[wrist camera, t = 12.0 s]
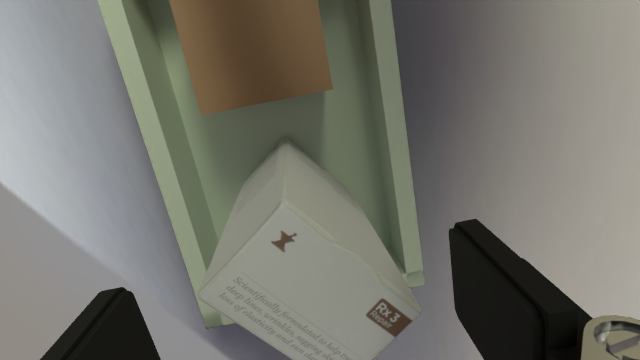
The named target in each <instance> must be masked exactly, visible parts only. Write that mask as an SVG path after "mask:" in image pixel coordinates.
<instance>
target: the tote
mask: <svg viewBox="0 0 640 360" xmlns="http://www.w3.org/2000/svg"><path fill="white" fill-rule="evenodd" d="M98 3H99V6H100V9H101V12H102V15H103V18H104V21H105V24H106V27H107V30H108V33H109V36H110V39H111V43H112V46H113V49H114V52H115V55H116V58H117V61H118V64H119V67H120V70H121V73H122V76H123V79H124V82H125V85H126V88H127V91H128V94H129V97H130V100H131V103H132V106H133V109H134V112H135V115H136V118H137V121H138V124H139V127H140V130H141V133H142V136H143V139H144V142H145V145H146V148H147V151H148V154H149V157H150V160H151V163H152V166H153V169H154V172H155V175H156V178H157V181H158V184H159V187H160V190H161V193H162V196H163V199H164V202H165V205H166V208H167V211H168V214H169V217H170V220H171V223H172V226H173V229H174V232H175V235H176V238H177V241H178V244H179V247H180V250H181V253H182V256H183V259H184V262H185V265H186V268H187V271H188V274H189V277H190V280H191V283H192V286H193V289H194V292H195V295H196V298H197V301H198V305H199V308H200V311H201V314H202V317H203V320H204V323H205V326H206V329H209V328H214V327H219V326H224V325H228V324H233V323H236V322H234V321H233V320H231V319H230V318H228V317H226V316H225V315H223V314H222V313H220V312H219V311H217V310H215V309H214V308H212V307H211V306H209V305H208V304H206V303H205V302H203V301H202V300H200V299H199V298H198V292H199V289H200V286H201V284H202V281H203V279H204V277H205V274H206V272H207V270H208V268H209V266H210V264H211V261H212V258H213V255H214V253H215V250H216V248H217V245H218V243H219V240H220V238H221V236H222V233H223V231H224V229H225V226H226V224H227V221H228V219H229V216H230V214H231V211H232V209H233V207H234V204H235V202H236V200H237V197H238V195H239V193H240V190H241V187H242V185H243V182H244V181H245V180H246V179H247V178H248V176H249V175H250V174H251V173H252V172H253V171H254V169H255V168H256V167H257V166H258V165H259V164H260V163H261V161H262V160H263V159H264V158H265V157H266V156H267V155H268V154H269V152H270V151H271V150H272V149H273V148H274V147H275V146H276V145H277V144H278V142H279V141H280V140H281V139H282V138H283V137H287V138H289V139H290V140H291V141H292V142H293V143H294V144H296V145H297V146H298V147H299V148H300V149H301V150H302V151H304V152H305V153H306V154H307V155H308V156H309V157H310V158H312V159H313V160H314V161H315V162H316V163H317V164H319V165H320V166H321V167H322V168H323V169H324V170H325V171H327V172H328V173H329V174H330V175H331V176H332V177H333V178H335V179H336V180H337V181H338V182H339V183H340V184H341V185H342V186H344V187H345V188H346V189H347V190H348V191H349V192H351V193H352V194H353V195H354V197H355V199H356V200H357V202H358V203H359V205H360V207H361V208H362V210H363V212H364V213H365V215H366V217H367V219H368V220H369V222H370V223H371V225H372V227H373V228H374V230H375V232H376V233H377V235H378V237H379V238H380V240H381V242H382V243H383V245H384V246H385V248H386V250H387V251H388V253H389V255H390V256H391V258H392V260H393V261H394V263H395V265H396V266H397V268H398V270H399V271H400V273H401V275H402V276H403V278H404V280H405V281H406V283H407V285H408V287H409V288H412V287H417V286H421V285H425V280H424V271H423V263H422V255H421V247H420V238H419V230H418V222H417V214H416V205H415V197H414V189H413V180H412V172H411V164H410V156H409V147H408V139H407V131H406V122H405V114H404V106H403V98H402V89H401V81H400V73H399V64H398V56H397V48H396V40H395V31H394V23H393V15H392V6H391V0H318V6H319V11H320V17H321V23H322V29H323V34H324V40H325V46H326V52H327V58H328V63H329V69H330V75H331V81H332V86H333V89H332V90H327V91H322V92H317V93H312V94H307V95H302V96H297V97H292V98H287V99H282V100H277V101H271V102H266V103H261V104H256V105H251V106H246V107H241V108H236V109H231V110H226V111H221V112H216V113H211V114H206V115H201V113H200V109H199V106H198V102H197V98H196V95H195V91H194V88H193V84H192V81H191V77H190V74H189V70H188V66H187V63H186V59H185V56H184V52H183V49H182V45H181V41H180V38H179V34H178V31H177V27H176V24H175V20H174V17H173V13H172V9H171V6H170V2H169V0H98Z"/></svg>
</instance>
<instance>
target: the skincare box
mask: <svg viewBox="0 0 640 360" xmlns="http://www.w3.org/2000/svg"><path fill="white" fill-rule="evenodd" d="M198 298H199V299H200V300H202V301H203V302H205V303H206V304H208V305H209V306H211V307H212V308H214V309H215V310H217V311H219V312H220V313H222V314H223V315H225V316H226V317H228V318H230V319H231V320H233V321H234V322H236V323H237V324H239V325H240V326H242V327H243V328H245V329H246V330H248V331H249V332H251V333H252V334H254V335H255V336H257V337H259V338H260V339H262V340H263V341H265V342H266V343H268V344H269V345H271V346H272V347H274V348H275V349H277V350H278V351H280V352H281V353H283V354H284V355H286V356H287V357H289V358H290V359H292V360H373V359H374V358H375V357H376V356H377V355H378V354H379V353H380V352H381V351H382V350H383V349H384V348H385V347H386V346H387V345H388V344H389V343H390V342H391V341H392V340H393V339H394V338H395V337H396V336H397V335H398V334H399V333H400V332H401V331H402V330H403V329H404V328H405V327H406V326H407V325H408V324H410V323H411V322H412V321H413V320H414V319H415V318H417V317H418V316H419V314H420V313H421V308H420V306H419V304H418V302H417V300H416V298H415V297H414V295H413V293H412V292H411V290H410V288H409V287H408V285H407V283H406V281H405V280H404V278H403V276H402V275H401V273H400V271H399V270H398V268H397V266H396V265H395V263H394V261H393V260H392V258H391V256H390V255H389V253H388V251H387V250H386V248H385V246H384V245H383V243H382V242H381V240H380V238H379V237H378V235H377V233H376V232H375V230H374V228H373V227H372V225H371V223H370V222H369V220H368V219H367V217H366V215H365V213H364V212H363V210H362V208H361V207H360V205H359V203H358V202H357V200H356V199H355V197H354V195H353V194H352V193H351V192H349V191H348V190H347V189H346V188H345V187H344V186H342V185H341V184H340V183H339V182H338V181H337V180H336V179H335V178H333V177H332V176H331V175H330V174H329V173H328V172H327V171H325V170H324V169H323V168H322V167H321V166H320V165H319V164H317V163H316V162H315V161H314V160H313V159H312V158H310V157H309V156H308V155H307V154H306V153H305V152H304V151H302V150H301V149H300V148H299V147H298V146H297V145H296V144H294V143H293V142H292V141H291V140H290V139H289V138H287V137H283V138H282V139H281V140H280V141H279V142H278V144H277V145H276V146H275V147H274V148H273V149H272V150H271V151H270V152H269V154H268V155H267V156H266V157H265V158H264V159H263V160H262V161H261V163H260V164H259V165H258V166H257V167H256V168H255V169H254V171H253V172H252V173H251V174H250V175H249V176H248V178H247V179H246V180H245V181H244V182H243V185H242V187H241V190H240V193H239V195H238V197H237V200H236V202H235V204H234V207H233V209H232V211H231V214H230V216H229V219H228V221H227V224H226V226H225V229H224V231H223V233H222V236H221V238H220V240H219V243H218V245H217V248H216V250H215V253H214V255H213V258H212V261H211V264H210V266H209V268H208V270H207V272H206V274H205V277H204V279H203V281H202V284H201V286H200V289H199V292H198Z"/></svg>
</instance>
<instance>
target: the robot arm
mask: <svg viewBox="0 0 640 360" xmlns="http://www.w3.org/2000/svg"><path fill="white" fill-rule="evenodd" d="M449 241H450V254H451V266H452V279H453V291H454V303H455V310H456V313H457V316H458V318H459V320H460V322H461V323H462V325H463V326H464V328H465V330H466V331H467V333H468V334H469V336H470V338H471V339H472V341H473V342H474V344H475V346H476V347H477V349H478V350H479V352H480V354H481V355H482V357H483V359H484V360H640V320H637V319H634V318H631V317H624V316H617V315H611V316H600V317H597V318H592V317H591V316H589V315H588V314H587V313H586V312H585V311H584V310H583V309H581V308H580V307H579V306H578V305H577V304H576V303H574V302H573V301H572V300H571V299H570V298H569V297H568V296H566V295H565V294H564V293H563V292H562V291H561V290H560V289H558V288H557V287H556V286H555V285H554V284H553V283H551V282H550V281H549V280H548V279H547V278H546V277H545V276H543V275H542V274H541V273H540V272H539V271H538V270H537V269H535V268H534V267H533V266H532V265H531V264H530V263H528V262H527V261H526V260H524V259H523V258H520V257H519V256H518V255H517V254H516V253H515V252H513V251H512V250H511V249H510V248H509V247H508V246H507V245H505V244H504V243H503V242H502V241H501V240H500V239H499V238H498V237H496V236H495V235H494V234H493V233H492V232H491V231H490V230H488V229H487V228H486V227H485V226H484V225H483V224H482V223H480V222H479V221H478V220H477V219H473V220H467V221H462V222H457V223H455V225H454V228H452V229H450V230H449ZM40 360H160V357H159V354H158V352H157V350H156V347H155V345H154V342H153V340H152V338H151V335H150V333H149V331H148V328H147V326H146V323H145V321H144V318H143V316H142V314H141V311H140V309H139V306H138V304H137V302H136V299H135V297H134V295H133V293H132V292H131V291H127V290H126V289H125V288H123V287H120V288H116V289H110V290H105V291H101V292H100V293H98V294H97V296H96V297H95V298H94V299H93V300H92V301H91V303H90V304H89V305H88V306H87V307H86V308H85V310H84V311H83V312H82V313H81V314H80V315H79V316H78V317H77V318H76V319H75V321H74V322H73V323H72V324H71V325H70V326H69V328H68V329H67V330H66V331H65V332H64V333H63V334H62V335H61V336H60V338H59V339H58V340H57V341H56V342H55V343H54V345H53V346H52V347H51V348H50V349H49V350H48V351H47V352H46V354H45V355H44V356H43V357H42V358H41V359H40Z"/></svg>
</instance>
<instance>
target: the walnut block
mask: <svg viewBox="0 0 640 360" xmlns="http://www.w3.org/2000/svg"><path fill="white" fill-rule="evenodd" d="M169 2H170V6H171V9H172V13H173V17H174V20H175V24H176V27H177V31H178V34H179V38H180V41H181V45H182V49H183V52H184V56H185V59H186V63H187V66H188V70H189V74H190V77H191V81H192V84H193V88H194V91H195V95H196V98H197V102H198V106H199V109H200V113H201V115H206V114H211V113H216V112H221V111H226V110H231V109H236V108H241V107H246V106H251V105H256V104H261V103H266V102H271V101H277V100H282V99H287V98H292V97H297V96H302V95H307V94H312V93H317V92H322V91H327V90H332V89H333V86H332V81H331V75H330V69H329V63H328V58H327V52H326V46H325V40H324V34H323V29H322V23H321V17H320V11H319V6H318V0H169Z"/></svg>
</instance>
